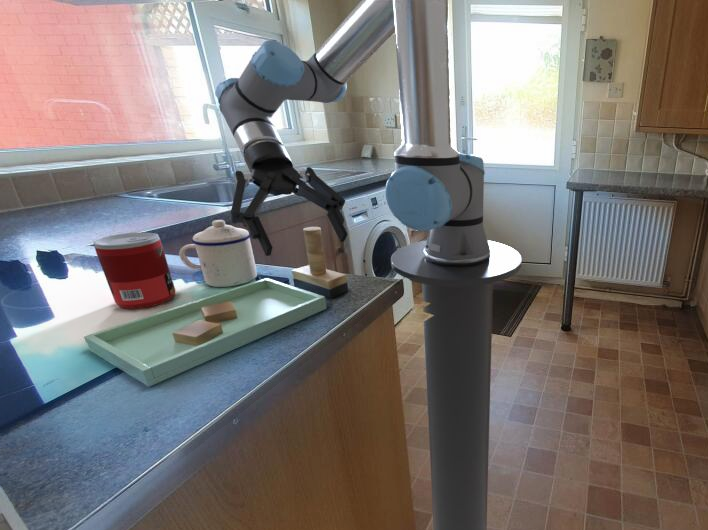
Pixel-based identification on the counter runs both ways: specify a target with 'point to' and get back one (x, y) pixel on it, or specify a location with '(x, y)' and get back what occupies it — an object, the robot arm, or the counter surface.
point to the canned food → (135, 269)
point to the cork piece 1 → (197, 333)
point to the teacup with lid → (223, 255)
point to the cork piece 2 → (219, 312)
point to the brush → (318, 269)
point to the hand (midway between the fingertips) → (309, 244)
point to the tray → (156, 330)
